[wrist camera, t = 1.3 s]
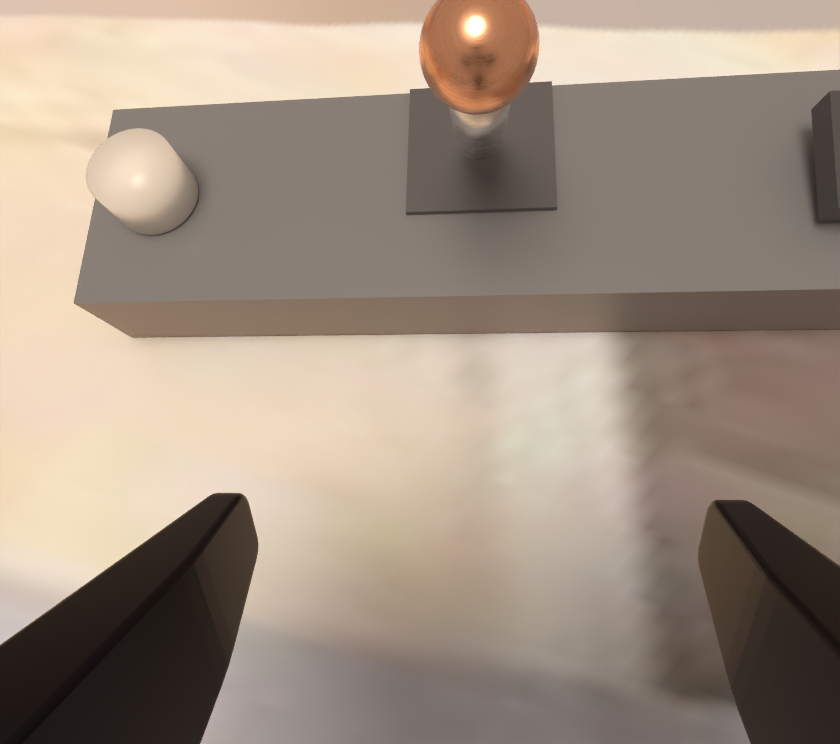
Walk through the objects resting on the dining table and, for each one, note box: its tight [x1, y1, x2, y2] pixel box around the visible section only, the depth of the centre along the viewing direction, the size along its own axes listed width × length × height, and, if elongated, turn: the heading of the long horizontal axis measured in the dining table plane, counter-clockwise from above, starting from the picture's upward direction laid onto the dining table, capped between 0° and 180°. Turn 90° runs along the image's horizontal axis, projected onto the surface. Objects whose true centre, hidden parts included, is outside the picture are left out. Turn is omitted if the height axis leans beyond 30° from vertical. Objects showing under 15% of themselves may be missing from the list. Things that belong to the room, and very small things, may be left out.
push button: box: [86, 128, 198, 235], centre depth 20 cm, size 3×3×2 cm
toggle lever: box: [419, 0, 539, 160], centre depth 15 cm, size 2×2×9 cm
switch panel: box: [74, 70, 840, 337], centre depth 22 cm, size 8×28×4 cm, turn 89°
